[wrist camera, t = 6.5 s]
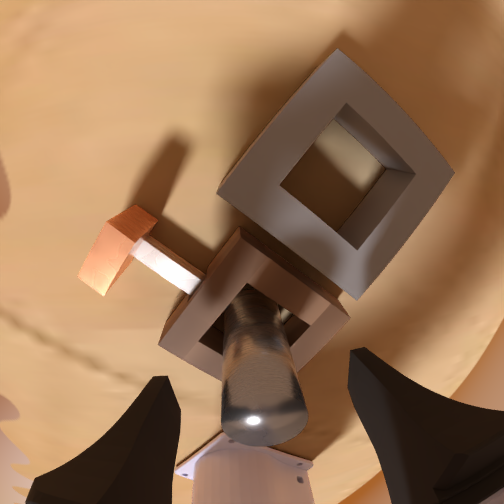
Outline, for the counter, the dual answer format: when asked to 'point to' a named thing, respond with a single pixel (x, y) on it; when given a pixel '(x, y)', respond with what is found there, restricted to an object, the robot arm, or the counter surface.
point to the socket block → (266, 281)
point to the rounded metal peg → (259, 374)
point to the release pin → (135, 254)
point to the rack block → (375, 202)
